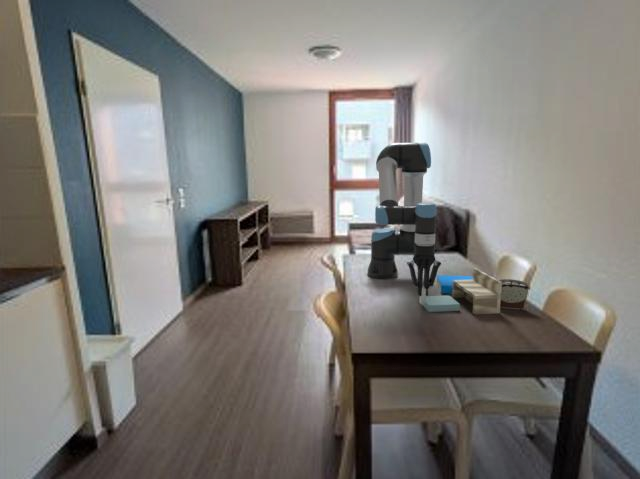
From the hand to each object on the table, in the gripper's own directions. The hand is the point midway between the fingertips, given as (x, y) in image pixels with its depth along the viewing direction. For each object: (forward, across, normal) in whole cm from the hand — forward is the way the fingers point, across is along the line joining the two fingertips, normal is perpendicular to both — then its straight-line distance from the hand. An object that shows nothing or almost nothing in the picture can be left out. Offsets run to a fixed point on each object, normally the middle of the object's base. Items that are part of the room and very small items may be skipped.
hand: (422, 303), depth 149 cm
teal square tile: (+2, +7, 0) cm, 7 cm away
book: (+2, +27, +19) cm, 34 cm away
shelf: (+1, +21, 0) cm, 21 cm away
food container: (+2, +34, -3) cm, 34 cm away
